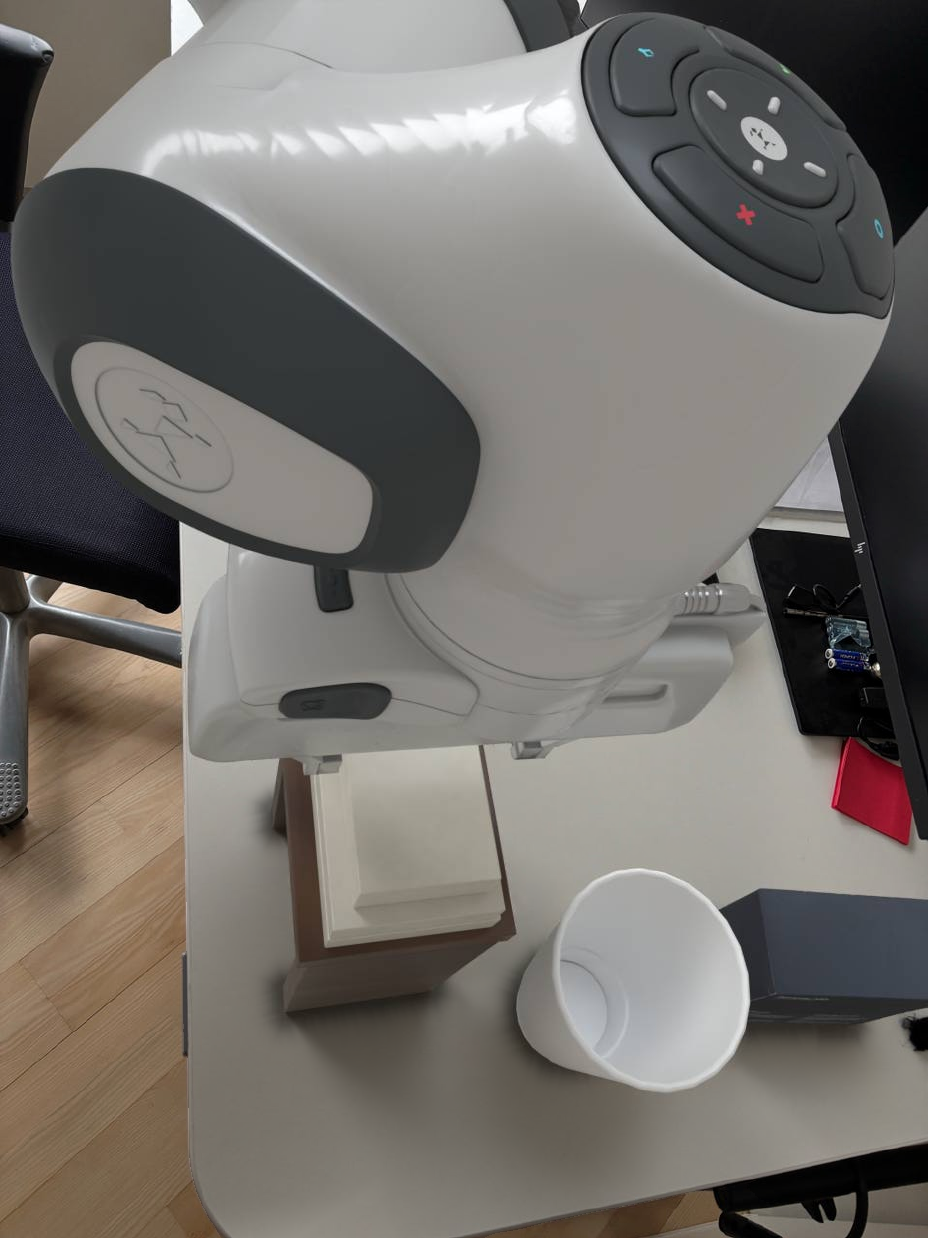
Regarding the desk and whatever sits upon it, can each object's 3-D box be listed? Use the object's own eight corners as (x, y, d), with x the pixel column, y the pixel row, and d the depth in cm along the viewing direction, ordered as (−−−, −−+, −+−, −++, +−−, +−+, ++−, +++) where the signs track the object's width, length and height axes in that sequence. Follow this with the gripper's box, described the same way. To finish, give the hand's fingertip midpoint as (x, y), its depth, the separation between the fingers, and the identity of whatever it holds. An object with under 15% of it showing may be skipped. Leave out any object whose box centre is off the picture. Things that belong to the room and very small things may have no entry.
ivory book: (330, 689, 47) (336, 667, 45) (453, 683, 49) (464, 661, 46) (352, 908, 42) (359, 895, 40) (488, 892, 44) (502, 879, 41)
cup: (542, 1142, 60) (636, 1141, 47) (450, 976, 64) (512, 931, 51) (673, 1041, 65) (792, 1014, 52) (581, 893, 69) (669, 832, 56)
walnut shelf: (264, 808, 67) (279, 694, 50) (411, 795, 70) (472, 684, 53) (276, 1013, 60) (298, 963, 44) (438, 990, 63) (517, 934, 47)
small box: (835, 932, 72) (935, 897, 62) (853, 1026, 69) (962, 1005, 59) (681, 923, 70) (759, 885, 60) (691, 1021, 66) (776, 998, 56)
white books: (303, 701, 50) (309, 673, 47) (453, 693, 52) (467, 665, 49) (324, 948, 44) (332, 934, 41) (492, 927, 46) (511, 912, 43)
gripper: (762, 515, 34) (620, 677, 45) (180, 510, 28) (188, 697, 40) (819, 670, 31) (651, 800, 42) (183, 700, 25) (191, 841, 37)
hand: (424, 750), depth 41 cm, fingers open, 8 cm apart
